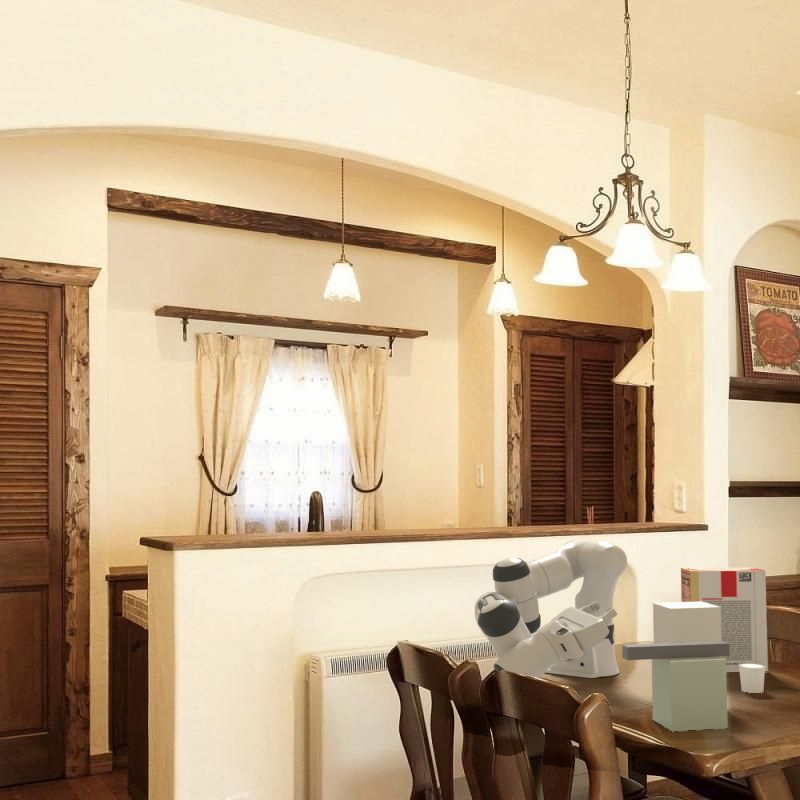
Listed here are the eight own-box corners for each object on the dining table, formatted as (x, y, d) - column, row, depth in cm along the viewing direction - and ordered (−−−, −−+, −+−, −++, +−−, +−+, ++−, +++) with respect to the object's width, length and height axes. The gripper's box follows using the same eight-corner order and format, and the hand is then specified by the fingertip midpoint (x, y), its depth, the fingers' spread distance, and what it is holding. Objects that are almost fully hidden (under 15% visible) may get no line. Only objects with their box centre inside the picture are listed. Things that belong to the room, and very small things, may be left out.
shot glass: (763, 695, 256) (762, 669, 257) (736, 692, 260) (735, 666, 260) (768, 690, 262) (767, 664, 262) (742, 687, 266) (741, 661, 266)
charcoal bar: (627, 660, 224) (627, 647, 225) (622, 657, 227) (622, 644, 227) (729, 656, 229) (729, 643, 229) (723, 653, 232) (722, 641, 232)
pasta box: (756, 666, 292) (754, 567, 294) (767, 672, 284) (765, 570, 286) (682, 667, 291) (680, 568, 293) (692, 673, 283) (690, 571, 285)
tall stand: (672, 708, 243) (670, 608, 245) (654, 698, 253) (653, 602, 254) (722, 705, 246) (720, 607, 247) (703, 696, 255) (701, 601, 257)
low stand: (672, 731, 222) (670, 661, 223) (652, 720, 231) (651, 653, 232) (727, 728, 224) (726, 659, 225) (706, 717, 234) (704, 651, 235)
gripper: (549, 642, 232) (595, 611, 235) (581, 660, 212) (631, 626, 215) (536, 620, 232) (582, 589, 235) (567, 636, 212) (617, 602, 215)
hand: (606, 607), depth 225 cm, fingers open, 8 cm apart
